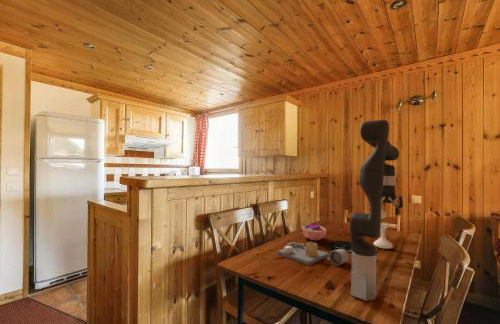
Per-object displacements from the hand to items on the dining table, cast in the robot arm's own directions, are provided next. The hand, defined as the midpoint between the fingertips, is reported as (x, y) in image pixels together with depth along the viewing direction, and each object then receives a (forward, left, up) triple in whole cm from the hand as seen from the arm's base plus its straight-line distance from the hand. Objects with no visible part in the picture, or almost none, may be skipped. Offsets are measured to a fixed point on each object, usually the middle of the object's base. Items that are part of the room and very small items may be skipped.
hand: (387, 214), depth 132 cm
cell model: (+10, +52, -28) cm, 60 cm away
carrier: (-23, +38, -27) cm, 52 cm away
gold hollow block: (-23, +32, -25) cm, 47 cm away
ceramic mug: (-18, +20, -28) cm, 38 cm away
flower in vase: (+30, +13, -28) cm, 43 cm away
